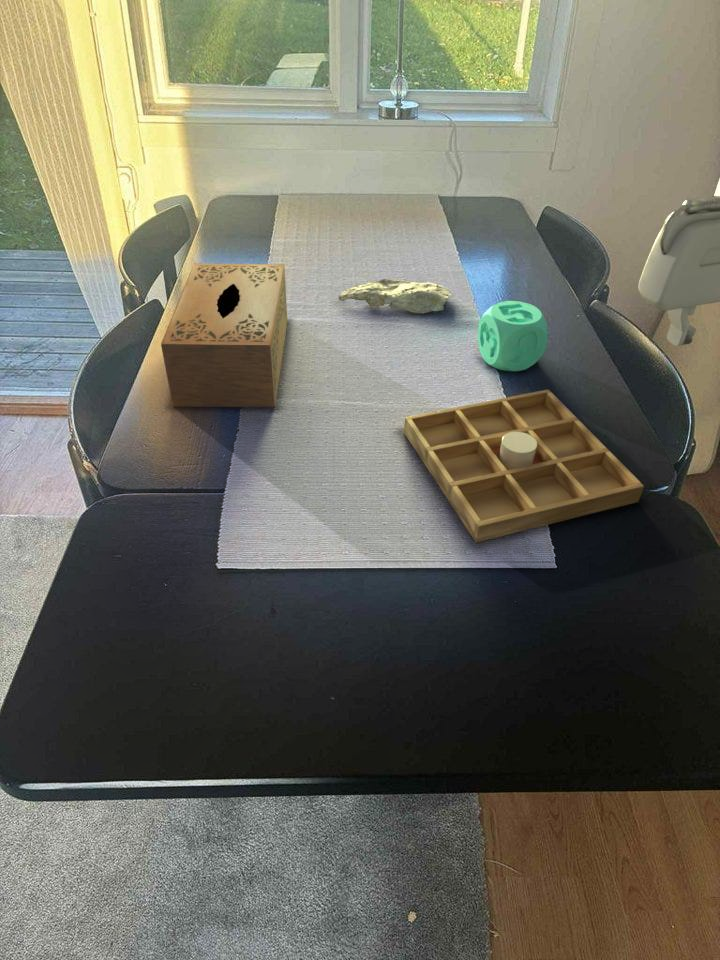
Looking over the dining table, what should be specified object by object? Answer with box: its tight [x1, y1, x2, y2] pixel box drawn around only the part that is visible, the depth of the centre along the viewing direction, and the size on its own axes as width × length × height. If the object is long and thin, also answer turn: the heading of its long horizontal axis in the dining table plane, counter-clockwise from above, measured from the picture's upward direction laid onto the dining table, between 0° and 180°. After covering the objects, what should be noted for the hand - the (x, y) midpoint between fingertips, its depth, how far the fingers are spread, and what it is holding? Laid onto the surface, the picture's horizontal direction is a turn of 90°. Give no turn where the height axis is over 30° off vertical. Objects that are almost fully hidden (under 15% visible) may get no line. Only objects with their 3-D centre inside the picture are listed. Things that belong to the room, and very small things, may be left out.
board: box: [403, 389, 645, 543], centre depth 89 cm, size 22×22×3 cm
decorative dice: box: [477, 300, 549, 372], centre depth 108 cm, size 8×8×8 cm
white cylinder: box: [498, 432, 537, 470], centre depth 89 cm, size 4×4×3 cm
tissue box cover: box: [160, 262, 288, 408], centre depth 106 cm, size 26×14×10 cm, turn 1°
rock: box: [338, 277, 452, 314], centre depth 126 cm, size 19×11×2 cm, turn 75°
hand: (717, 335), depth 68 cm, fingers open, 8 cm apart
